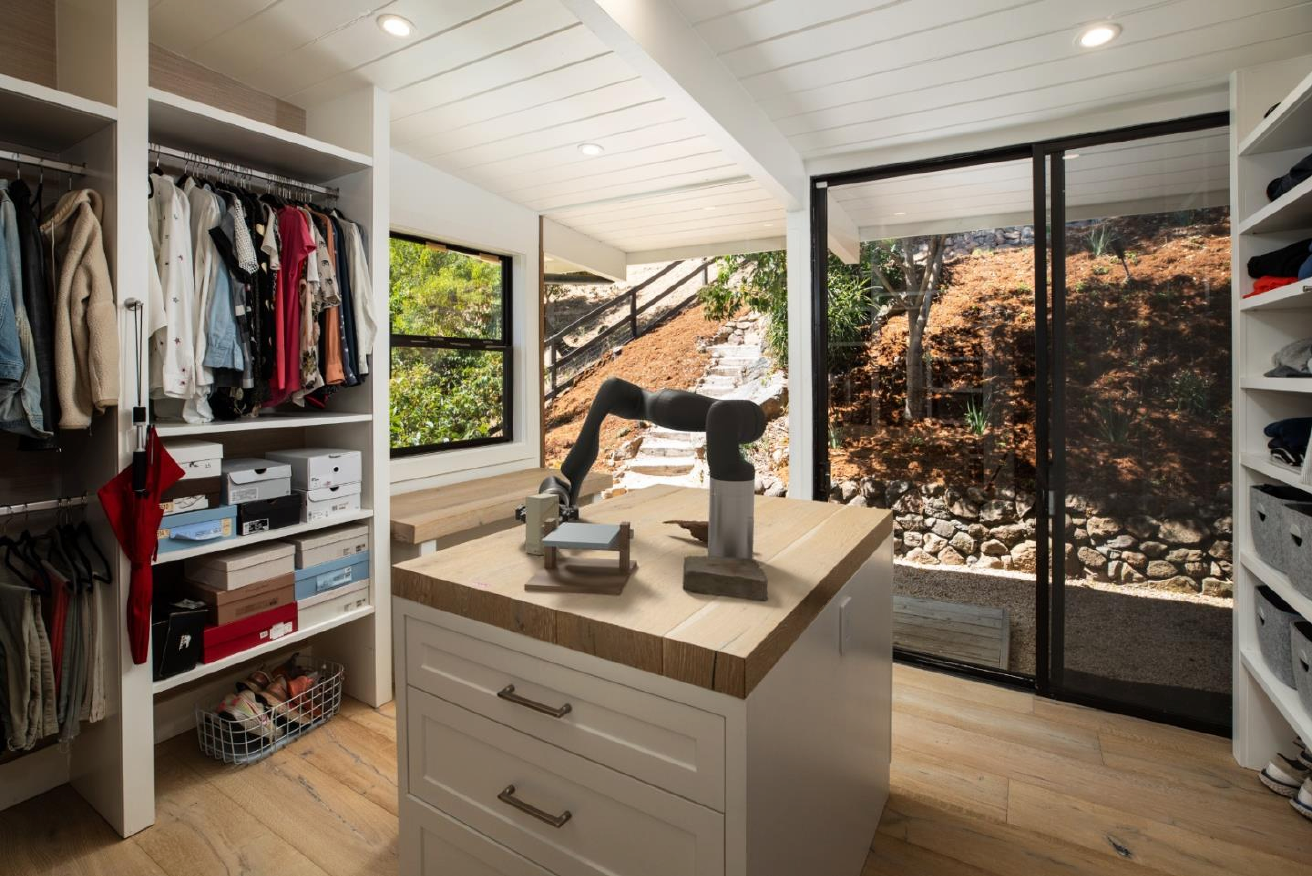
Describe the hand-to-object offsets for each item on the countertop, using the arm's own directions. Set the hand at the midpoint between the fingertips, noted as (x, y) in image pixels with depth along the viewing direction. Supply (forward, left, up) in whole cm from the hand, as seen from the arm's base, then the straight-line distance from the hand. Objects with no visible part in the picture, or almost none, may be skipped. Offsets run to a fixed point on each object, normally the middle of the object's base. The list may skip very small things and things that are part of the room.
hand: (544, 518), depth 148 cm
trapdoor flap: (-13, +20, -2) cm, 24 cm away
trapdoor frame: (-13, +20, -6) cm, 25 cm away
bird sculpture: (-34, -12, -7) cm, 37 cm away
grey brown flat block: (-39, +20, -7) cm, 45 cm away
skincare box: (0, +3, -7) cm, 7 cm away
